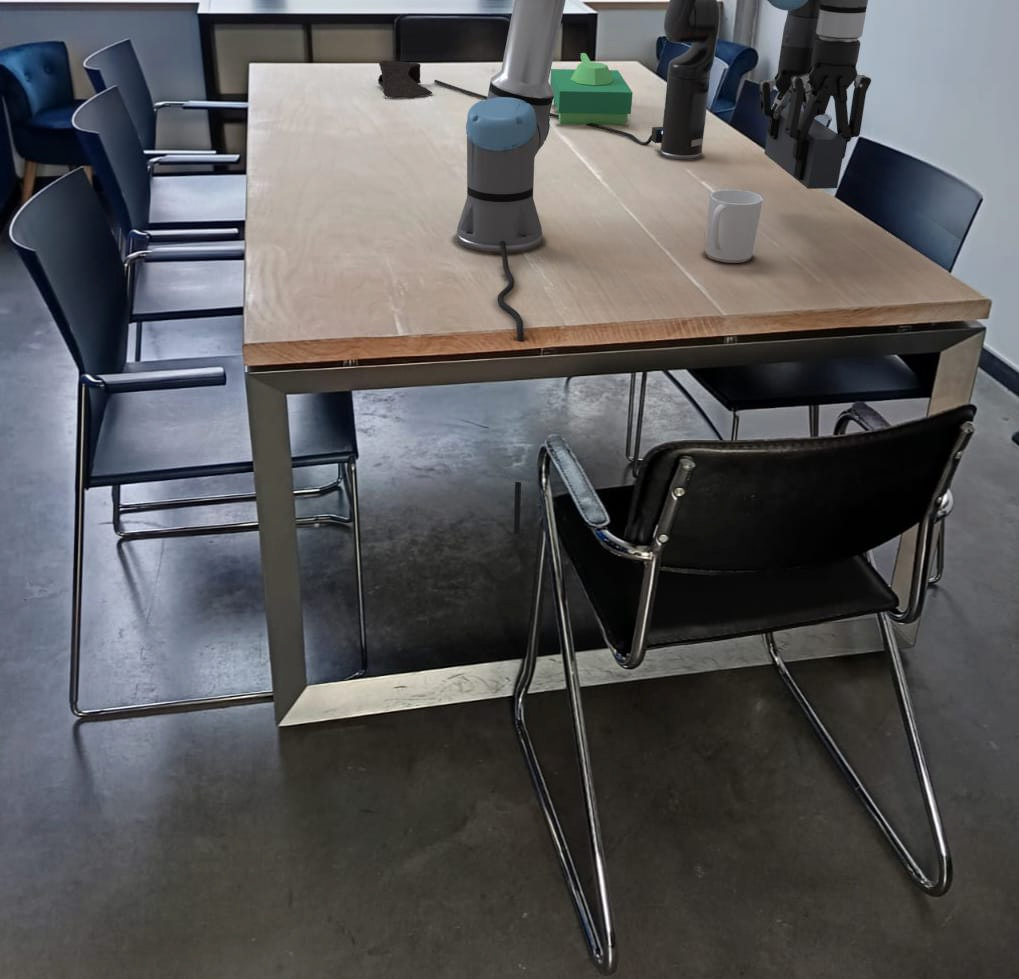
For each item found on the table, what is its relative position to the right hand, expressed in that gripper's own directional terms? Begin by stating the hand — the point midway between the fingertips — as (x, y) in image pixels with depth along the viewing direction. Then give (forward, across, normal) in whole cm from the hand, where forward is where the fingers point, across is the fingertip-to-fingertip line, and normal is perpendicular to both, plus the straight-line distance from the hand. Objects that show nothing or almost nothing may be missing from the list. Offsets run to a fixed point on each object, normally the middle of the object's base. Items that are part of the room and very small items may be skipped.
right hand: (788, 137), depth 205 cm
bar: (+4, 0, +7) cm, 8 cm away
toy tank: (+15, +20, -87) cm, 91 cm away
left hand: (+3, 0, +15) cm, 15 cm away
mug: (+14, +18, +23) cm, 33 cm away
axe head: (+15, +66, -114) cm, 133 cm away
